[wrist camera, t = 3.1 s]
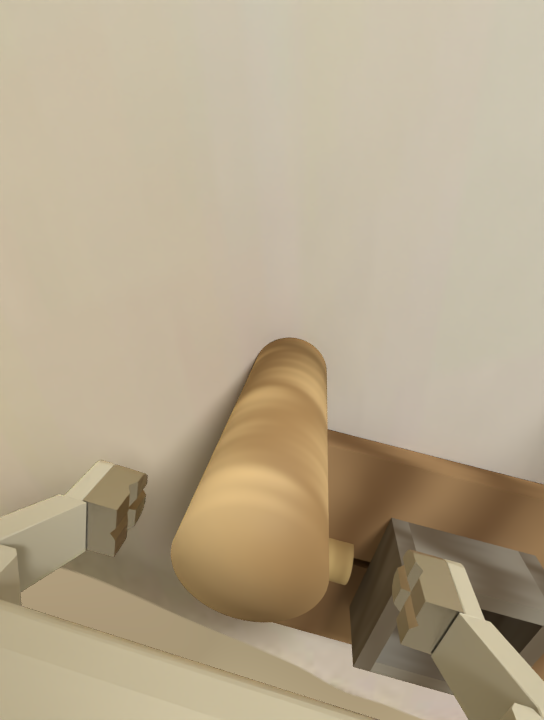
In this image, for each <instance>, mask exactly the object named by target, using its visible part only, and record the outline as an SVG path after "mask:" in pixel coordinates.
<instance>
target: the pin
mask: <svg viewBox="0 0 544 720" xmlns="http://www.w3.org/2000/svg"><path fill="white" fill-rule="evenodd" d="M171 561H172V565H173V568H174V571H175V573H176V575H177V577H178V579H179V580H180V582H181V583H182V585H183V586H184V587H185V588H186V589H187V591H189V592H190V593H191V594H192V595H193V596H194V597H195V598H196V599H198V600H199V601H200V602H202V603H203V604H205V605H206V606H208V607H210V608H212V609H213V610H215V611H217V612H220V613H222V614H224V615H227V616H230V617H233V618H237V619H241V620H246V621H253V622H278V621H284V620H289V619H292V618H295V617H298V616H300V615H302V614H304V613H306V612H308V611H309V610H311V609H312V608H314V607H315V606H316V605H317V604H318V603H319V602H320V600H321V599H322V598H323V596H324V594H325V593H326V591H327V587H328V584H329V513H328V437H327V370H326V364H325V361H324V358H323V357H322V355H321V353H320V352H319V351H318V350H317V349H316V348H315V347H314V346H313V345H311V344H310V343H308V342H306V341H304V340H301V339H297V338H282V339H278V340H275V341H273V342H271V343H269V344H268V345H266V346H265V347H264V348H263V349H262V350H261V352H260V353H259V355H258V357H257V359H256V361H255V363H254V365H253V368H252V370H251V372H250V374H249V376H248V378H247V381H246V383H245V385H244V387H243V389H242V392H241V394H240V396H239V398H238V400H237V402H236V405H235V407H234V409H233V411H232V413H231V415H230V418H229V420H228V422H227V424H226V426H225V429H224V431H223V433H222V435H221V437H220V439H219V442H218V444H217V446H216V448H215V450H214V452H213V455H212V457H211V459H210V461H209V463H208V465H207V468H206V470H205V472H204V474H203V476H202V479H201V481H200V483H199V485H198V487H197V489H196V492H195V494H194V496H193V498H192V500H191V502H190V505H189V507H188V509H187V511H186V513H185V516H184V518H183V520H182V522H181V524H180V526H179V529H178V531H177V533H176V535H175V537H174V540H173V542H172V547H171Z"/></svg>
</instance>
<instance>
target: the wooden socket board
mask: <svg viewBox="0 0 544 720" xmlns="http://www.w3.org/2000/svg"><path fill="white" fill-rule="evenodd" d="M327 437H328V513H329V584H328V587H327V591H326V593H325V594H324V596H323V598H322V599H321V600H320V602H319V603H318V604H317V605H316V606H315V607H314V608H312V609H311V610H309V611H308V612H306V613H304V614H302V615H300V616H298V617H295V618H292V619H289V620H284V621H278V622H274V623H277V624H281V625H284V626H288V627H291V628H295V629H299V630H302V631H306V632H309V633H313V634H316V635H320V636H324V637H327V638H331V639H334V640H338V641H341V642H345V643H349V644H352V656H353V667H356V668H359V669H363V670H366V671H370V672H373V673H377V674H381V675H384V676H388V677H391V678H395V679H398V680H402V681H405V682H409V683H412V684H416V685H419V686H423V687H427V688H430V689H434V690H437V691H441V692H444V693H448V694H451V695H454V694H453V693H452V691H451V689H450V688H449V686H448V684H447V683H446V681H445V679H444V677H443V676H442V674H441V672H440V671H439V669H438V667H437V666H436V664H435V662H434V661H433V659H432V657H431V656H432V655H431V654H428V653H425V652H422V651H419V650H416V649H413V648H410V647H407V646H404V645H401V644H400V639H399V633H398V627H397V621H396V618H397V617H398V615H399V613H400V612H399V610H398V609H397V607H396V606H395V604H394V603H393V596H392V584H393V578H394V575H395V572H396V570H397V568H399V567H401V566H403V565H404V561H403V556H404V554H405V553H406V551H408V550H409V549H410V550H414V551H418V552H421V553H425V554H428V555H432V556H436V557H439V558H442V559H447V560H450V561H454V562H458V563H461V564H462V565H463V566H464V568H465V570H466V573H467V575H468V578H469V581H470V583H471V586H472V588H473V591H474V593H475V596H476V598H477V601H478V603H479V606H480V609H481V611H482V614H483V616H484V619H485V620H486V621H489V622H491V623H492V624H493V625H494V626H495V628H496V629H497V630H498V631H499V632H500V633H501V634H502V635H503V636H504V638H505V639H506V640H507V641H508V642H509V643H510V644H511V645H512V647H513V648H514V649H515V650H516V651H517V652H518V653H519V654H520V655H521V657H522V658H523V659H524V660H525V661H526V662H527V663H528V664H529V666H530V667H531V668H532V669H533V670H534V671H535V672H536V673H537V674H538V676H539V677H540V678H541V679H542V680H543V681H544V485H543V484H539V483H535V482H531V481H527V480H523V479H519V478H515V477H512V476H508V475H504V474H500V473H496V472H492V471H488V470H484V469H480V468H476V467H473V466H469V465H465V464H461V463H457V462H453V461H449V460H445V459H441V458H437V457H433V456H430V455H426V454H422V453H418V452H414V451H410V450H406V449H402V448H398V447H394V446H390V445H387V444H383V443H379V442H375V441H371V440H367V439H363V438H359V437H355V436H351V435H347V434H344V433H340V432H336V431H332V430H328V429H327Z"/></svg>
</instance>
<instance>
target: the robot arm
mask: <svg viewBox="0 0 544 720" xmlns="http://www.w3.org/2000/svg"><path fill="white" fill-rule="evenodd" d="M147 478H148V475H147V474H145V473H142V472H139V471H136V470H133V469H130V468H127V467H123V466H120V465H117V464H113V463H110V462H106V461H103V460H100V461H98V462H96V463H95V464H94V465H93V466H92V467H91V468H90V469H89V470H88V471H87V473H86V474H85V475H84V476H83V477H82V478H81V479H80V480H79V481H78V482H77V483H76V484H75V485H74V486H73V487H72V488H71V489H70V490H69V491H68V492H67V493H66V494H65V495H60V494H59V495H56V496H54V497H51V498H48V499H46V500H43V501H41V502H38V503H35V504H33V505H30V506H28V507H25V508H22V509H20V510H17V511H15V512H12V513H9V514H7V515H4V516H2V517H0V720H378V719H375V718H372V717H369V716H365V715H362V714H359V713H356V712H353V711H350V710H347V709H344V708H340V707H337V706H334V705H331V704H328V703H325V702H321V701H318V700H315V699H312V698H309V697H306V696H302V695H299V694H296V693H293V692H290V691H287V690H283V689H281V688H277V687H274V686H271V685H268V684H264V683H262V682H259V681H255V680H252V679H249V678H246V677H243V676H240V675H237V674H233V673H230V672H227V671H224V670H221V669H218V668H214V667H211V666H208V665H205V664H202V663H199V662H196V661H193V660H189V659H186V658H183V657H180V656H177V655H173V654H171V653H167V652H164V651H161V650H158V649H155V648H152V647H149V646H146V645H142V644H139V643H136V642H133V641H130V640H127V639H124V638H120V637H117V636H114V635H111V634H108V633H105V632H101V631H98V630H95V629H92V628H89V627H86V626H83V625H80V624H76V623H73V622H70V621H67V620H64V619H61V618H58V617H54V616H51V615H48V614H45V613H42V612H39V611H36V610H33V609H29V608H26V607H23V606H21V595H20V592H22V591H23V590H25V589H27V588H28V587H30V586H31V585H33V584H35V583H36V582H38V581H39V580H41V579H42V578H44V577H46V576H47V575H49V574H50V573H52V572H53V571H55V570H57V569H58V568H60V567H61V566H63V565H65V564H66V563H68V562H69V561H71V560H73V559H74V558H76V557H77V556H79V555H80V554H82V553H84V552H85V551H86V550H90V551H93V552H97V553H101V554H104V555H108V556H112V557H114V556H115V555H116V553H117V552H118V550H119V549H120V547H121V546H122V544H123V543H124V541H125V539H126V537H127V529H129V528H131V527H133V526H134V525H135V524H136V522H137V521H138V519H139V517H140V515H141V513H142V510H143V508H144V504H145V499H146V494H145V492H144V491H143V489H144V488H145V486H146V485H147ZM403 561H404V565H403V566H401V567H399V568H397V570H396V572H395V575H394V578H393V584H392V596H393V603H394V604H395V606H396V607H397V609H398V610H399V612H400V613H399V615H398V617H397V618H396V621H397V627H398V633H399V639H400V644H401V645H404V646H407V647H410V648H413V649H416V650H419V651H422V652H425V653H428V654H431V655H432V656H431V657H432V659H433V661H434V662H435V664H436V666H437V667H438V669H439V671H440V672H441V674H442V676H443V677H444V679H445V681H446V683H447V684H448V686H449V688H450V689H451V691H452V693H453V694H454V696H455V698H456V699H457V701H458V703H459V704H460V706H461V708H462V709H463V711H464V713H465V714H466V716H467V718H468V720H544V681H543V680H542V679H541V678H540V677H539V676H538V674H537V673H536V672H535V671H534V670H533V669H532V668H531V667H530V666H529V664H528V663H527V662H526V661H525V660H524V659H523V658H522V657H521V655H520V654H519V653H518V652H517V651H516V650H515V649H514V648H513V647H512V645H511V644H510V643H509V642H508V641H507V640H506V639H505V638H504V636H503V635H502V634H501V633H500V632H499V631H498V630H497V629H496V628H495V626H494V625H493V624H492V623H491V622H489V621H486V620H485V619H484V616H483V614H482V611H481V609H480V606H479V603H478V601H477V598H476V596H475V593H474V591H473V588H472V586H471V583H470V581H469V578H468V575H467V573H466V570H465V568H464V566H463V565H462V564H461V563H458V562H454V561H450V560H447V559H442V558H439V557H436V556H432V555H428V554H425V553H421V552H418V551H414V550H410V549H409V550H408V551H406V553H405V554H404V556H403Z"/></svg>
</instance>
